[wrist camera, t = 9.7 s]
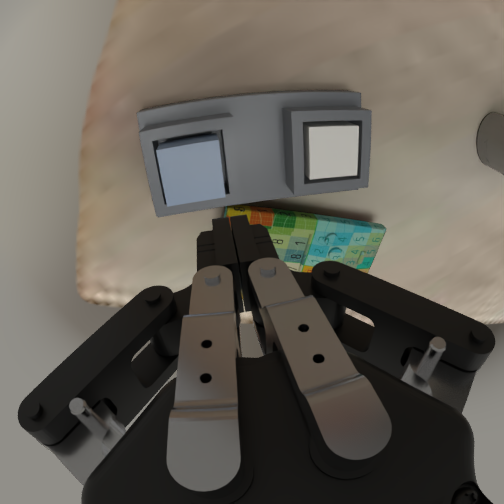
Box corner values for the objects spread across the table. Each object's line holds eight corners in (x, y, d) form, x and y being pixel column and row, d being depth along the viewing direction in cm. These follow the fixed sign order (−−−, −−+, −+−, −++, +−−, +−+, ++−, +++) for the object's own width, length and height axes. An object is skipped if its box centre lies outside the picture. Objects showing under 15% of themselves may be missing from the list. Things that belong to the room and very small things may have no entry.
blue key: (216, 133, 26) (218, 139, 23) (222, 185, 28) (225, 197, 26) (160, 142, 25) (156, 150, 23) (169, 193, 28) (167, 206, 25)
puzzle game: (357, 305, 41) (212, 302, 36) (344, 285, 45) (210, 278, 40) (390, 232, 35) (227, 211, 30) (372, 215, 39) (223, 194, 34)
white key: (344, 120, 28) (358, 125, 26) (344, 166, 31) (357, 175, 28) (298, 122, 28) (308, 127, 25) (300, 169, 30) (309, 179, 28)
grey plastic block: (348, 90, 29) (375, 95, 24) (346, 180, 35) (370, 200, 30) (142, 109, 27) (130, 116, 22) (160, 205, 33) (154, 231, 28)
